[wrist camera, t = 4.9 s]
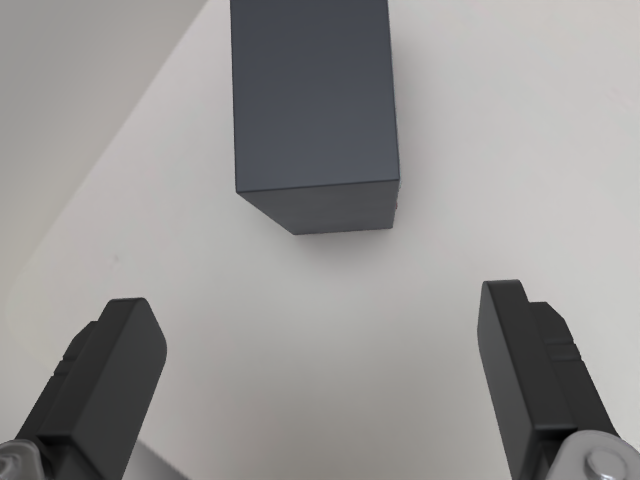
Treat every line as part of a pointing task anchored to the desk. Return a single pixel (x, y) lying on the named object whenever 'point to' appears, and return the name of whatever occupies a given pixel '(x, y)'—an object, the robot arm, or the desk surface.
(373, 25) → the block
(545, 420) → the robot arm
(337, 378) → the desk surface
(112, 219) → the desk surface
